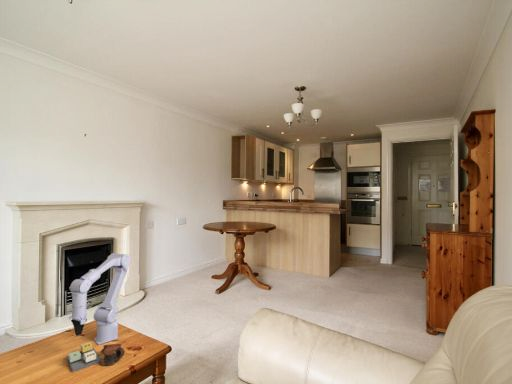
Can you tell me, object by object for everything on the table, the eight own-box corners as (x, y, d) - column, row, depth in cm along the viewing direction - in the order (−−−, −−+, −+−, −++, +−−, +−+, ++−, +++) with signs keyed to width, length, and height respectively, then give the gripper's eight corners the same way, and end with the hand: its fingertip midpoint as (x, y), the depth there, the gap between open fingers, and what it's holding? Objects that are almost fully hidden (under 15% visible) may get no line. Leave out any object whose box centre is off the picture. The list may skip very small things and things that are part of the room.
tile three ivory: (93, 355, 127) (93, 349, 127) (96, 359, 124) (96, 353, 124) (83, 358, 124) (83, 353, 124) (85, 362, 122) (86, 357, 122)
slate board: (93, 350, 135) (93, 347, 135) (101, 361, 125) (101, 358, 125) (65, 359, 127) (65, 356, 127) (71, 372, 117) (71, 369, 117)
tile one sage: (78, 355, 127) (78, 349, 127) (80, 359, 124) (80, 353, 124) (68, 358, 124) (68, 353, 124) (70, 362, 121) (70, 357, 121)
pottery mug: (93, 367, 122) (97, 345, 127) (109, 365, 130) (112, 345, 134) (116, 364, 120) (119, 342, 124) (131, 362, 128) (133, 342, 132)
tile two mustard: (90, 346, 133) (90, 341, 133) (92, 349, 130) (92, 344, 130) (80, 349, 130) (80, 343, 131) (82, 352, 128) (82, 347, 128)
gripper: (65, 303, 132) (64, 331, 132) (73, 312, 122) (72, 343, 122) (82, 299, 137) (81, 327, 137) (91, 308, 127) (90, 338, 127)
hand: (78, 334), depth 130 cm, fingers closed
